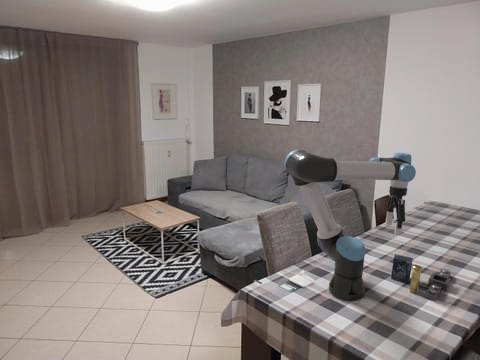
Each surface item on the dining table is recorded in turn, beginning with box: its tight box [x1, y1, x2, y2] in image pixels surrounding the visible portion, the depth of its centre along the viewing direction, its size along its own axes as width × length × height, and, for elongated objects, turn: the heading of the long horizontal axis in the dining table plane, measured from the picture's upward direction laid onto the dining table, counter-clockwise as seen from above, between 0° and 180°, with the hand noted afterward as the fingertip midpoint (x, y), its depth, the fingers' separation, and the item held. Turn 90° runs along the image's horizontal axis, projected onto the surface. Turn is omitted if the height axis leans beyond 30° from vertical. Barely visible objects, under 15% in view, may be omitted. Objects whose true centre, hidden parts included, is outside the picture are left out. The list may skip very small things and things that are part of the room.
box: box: [390, 253, 414, 284], centre depth 163 cm, size 8×6×11 cm
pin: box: [409, 264, 423, 295], centre depth 151 cm, size 4×4×12 cm
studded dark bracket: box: [424, 268, 452, 302], centre depth 157 cm, size 29×7×4 cm, turn 139°
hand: (392, 229), depth 166 cm, fingers open, 13 cm apart
